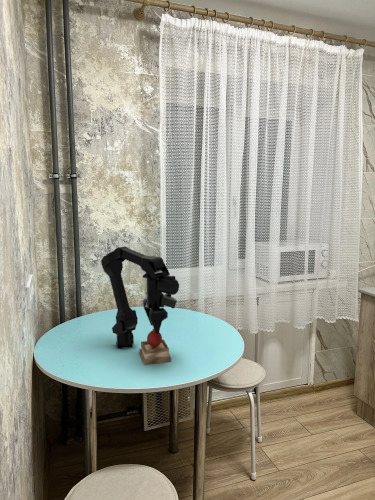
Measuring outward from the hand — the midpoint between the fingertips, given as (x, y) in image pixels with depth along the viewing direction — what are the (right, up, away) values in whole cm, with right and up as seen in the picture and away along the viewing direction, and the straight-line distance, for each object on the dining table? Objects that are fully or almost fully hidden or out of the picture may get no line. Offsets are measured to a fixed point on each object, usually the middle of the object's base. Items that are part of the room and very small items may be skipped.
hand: (154, 329), depth 145 cm
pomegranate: (0, -8, +1) cm, 8 cm away
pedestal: (0, -11, +2) cm, 12 cm away
